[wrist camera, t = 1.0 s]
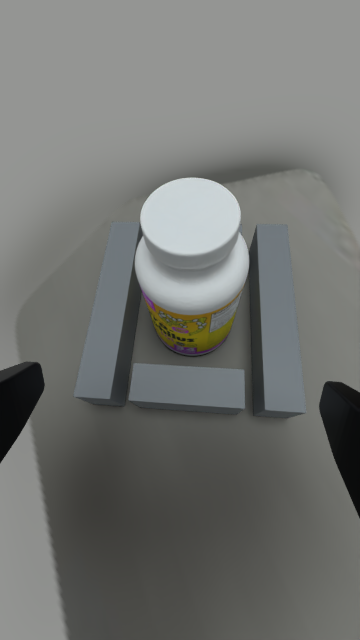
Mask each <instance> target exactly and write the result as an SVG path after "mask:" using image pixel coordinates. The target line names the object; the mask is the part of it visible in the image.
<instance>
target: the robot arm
mask: <svg viewBox="0 0 360 640" xmlns="http://www.w3.org/2000/svg"><path fill="white" fill-rule="evenodd" d="M44 386H45V384H44V378H43V373H42V368H41V365H40V364H39V363H38V362H24V363H21V364H18V365H15V366H13V367H10V368H7V369H4V370H1V371H0V463H1V461H2V460H3V458H4V457H5V455H6V454H7V452H8V451H9V450H10V448H11V446H12V445H13V444H14V442H15V441H16V439H17V437H18V436H19V434H20V433H21V431H22V429H23V428H24V426H25V424H26V422H27V421H28V419H29V417H30V415H31V413H32V411H33V409H34V408H35V406H36V404H37V402H38V400H39V398H40V396H41V395H42V393H43V390H44ZM319 410H320V414H321V417H322V420H323V424H324V427H325V430H326V434H327V437H328V440H329V443H330V447H331V450H332V453H333V456H334V459H335V461H336V464H337V466H338V469H339V471H340V474H341V476H342V478H343V481H344V483H345V485H346V488H347V490H348V492H349V495H350V497H351V499H352V502H353V504H354V506H355V509H356V511H357V513H358V516H359V518H360V392H358V391H356V390H354V389H353V388H351V387H349V386H347V385H345V384H344V383H342V382H333V381H327V382H326V383H325V384H324V387H323V391H322V395H321V399H320V404H319Z"/></svg>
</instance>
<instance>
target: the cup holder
mask: <svg viewBox="0 0 360 640" xmlns="http://www.w3.org/2000/svg"><path fill="white" fill-rule="evenodd" d="M239 232H240V234H241V235H242V224H240V227H239ZM142 237H143V232H142V228H141V225H140V222H112V224H111V228H110V233H109V237H108V242H107V246H106V251H105V255H104V260H103V264H102V269H101V273H100V278H99V282H98V287H97V291H96V296H95V300H94V305H93V309H92V314H91V318H90V323H89V327H88V332H87V336H86V341H85V345H84V350H83V354H82V359H81V363H80V368H79V373H78V377H77V382H76V386H75V391H74V395H73V397H76V398H78V399H81V400H84V401H87V402H89V403H92V404H98V405H112V406H125V399H126V392H127V386H128V379H129V372H130V365H131V359H132V352H133V345H134V338H135V332H136V325H137V318H138V311H139V305H140V298H141V291H142V290H141V287H140V284H139V282H138V279H137V275H136V271H135V255H136V250H137V247H138V244H139V242H140V240H141V238H142ZM249 278H250V312H251V347H252V381H253V416H265V417H279V418H290V417H293V416H297V415H301V414H304V413H306V405H305V395H304V385H303V375H302V365H301V355H300V345H299V335H298V325H297V316H296V306H295V296H294V286H293V276H292V266H291V256H290V246H289V237H288V227H287V225H278V224H257V225H256V229H255V233H254V236H253V240H252V244H251V247H250V251H249ZM129 401H130V402H132V403H133V404H135V405H137V406H138V407H140V408H154V409H168V410H182V411H195V412H209V413H223V414H238V413H240V412H241V411H242V410H244V409H245V382H244V370H242V369H225V368H208V367H191V366H174V365H157V364H140V363H134V366H133V373H132V380H131V386H130V393H129Z"/></svg>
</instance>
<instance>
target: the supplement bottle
mask: <svg viewBox="0 0 360 640" xmlns="http://www.w3.org/2000/svg"><path fill="white" fill-rule="evenodd" d="M240 220H241V212H240V207H239V204H238V202H237V200H236V198H235V197H234V195H233V194H232V193H231V192H230V191H229V190H228V189H226V188H225V187H224V186H222V185H220V184H218V183H216V182H213V181H210V180H206V179H202V178H184V179H178V180H174V181H171V182H169V183H166V184H164V185H163V186H161V187H159V188H158V189H157V190H155V191H154V192H153V193H152V194H151V195H150V196H149V197H148V199H147V200H146V202H145V203H144V205H143V207H142V211H141V215H140V223H141V228H142V232H143V237H142V238H141V240H140V242H139V244H138V247H137V250H136V255H135V271H136V275H137V279H138V282H139V284H140V287H141V290H142V292H143V295H144V298H145V301H146V304H147V307H148V310H149V312H150V315H151V318H152V321H153V324H154V326H155V329H156V332H157V334H158V336H159V338H160V339H161V341H162V342H163V343H164V344H165V345H166V346H167V347H168V348H170V349H171V350H173V351H175V352H177V353H180V354H183V355H189V356H197V355H203V354H206V353H209V352H211V351H213V350H215V349H216V348H218V347H219V346H220V345H221V344H222V343H223V342H224V340H225V339H226V338H227V336H228V334H229V332H230V329H231V326H232V323H233V320H234V317H235V313H236V310H237V307H238V303H239V300H240V297H241V294H242V291H243V288H244V284H245V281H246V278H247V274H248V270H249V253H248V248H247V245H246V243H245V241H244V239H243V237H242V235H241V234H240V232H239V227H240Z"/></svg>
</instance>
